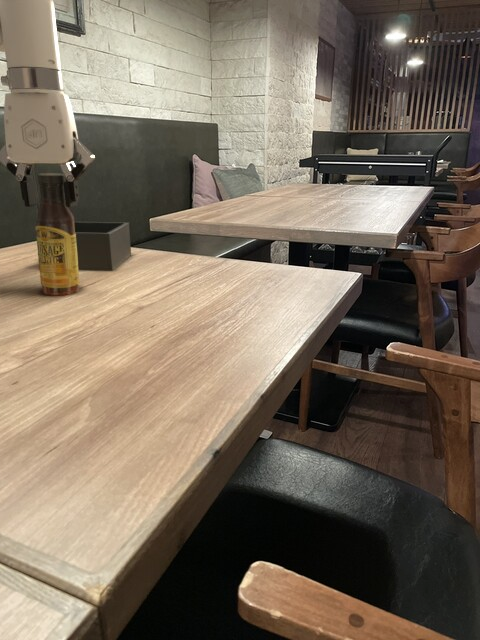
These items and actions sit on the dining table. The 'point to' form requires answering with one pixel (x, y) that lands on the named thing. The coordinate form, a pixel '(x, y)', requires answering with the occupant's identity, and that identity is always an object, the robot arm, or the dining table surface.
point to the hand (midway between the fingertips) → (51, 204)
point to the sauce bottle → (56, 238)
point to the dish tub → (102, 245)
